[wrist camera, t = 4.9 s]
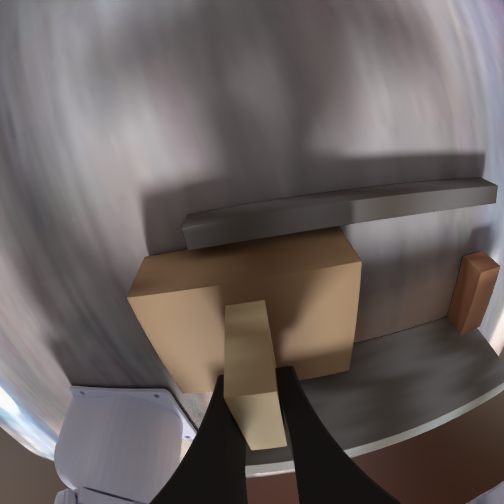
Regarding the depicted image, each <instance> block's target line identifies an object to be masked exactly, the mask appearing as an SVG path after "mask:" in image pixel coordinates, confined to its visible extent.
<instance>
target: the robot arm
mask: <svg viewBox="0 0 504 504" xmlns="http://www.w3.org/2000/svg"><path fill="white" fill-rule="evenodd" d="M275 371H276V379H277V387H278V393H279V398H280V404H281V410H282V415H283V421H284V425H285V429H286V433H287V437H288V441H289V446H290V450H291V454H292V458H293V462H294V467H295V472H296V479H297V487H298V494H299V502H300V504H400V502H399V501H398V500H397V499H395V498H394V497H393V496H391V495H390V494H389V493H387V492H386V491H385V490H384V489H382V488H381V487H380V486H379V485H378V484H376V483H375V482H374V481H373V480H372V479H371V478H370V477H368V476H367V475H366V474H365V473H364V472H363V471H362V470H361V469H360V468H359V467H358V466H357V465H356V464H355V463H354V462H353V461H352V460H351V458H350V457H349V456H348V455H347V454H346V453H345V452H344V451H343V449H342V448H341V447H340V446H339V445H338V443H337V442H336V441H335V440H334V438H333V437H332V436H331V434H330V433H329V432H328V430H327V429H326V427H325V426H324V424H323V423H322V422H321V420H320V418H319V417H318V415H317V414H316V412H315V410H314V409H313V407H312V405H311V404H310V402H309V400H308V398H307V397H306V395H305V393H304V391H303V389H302V386H301V384H300V382H299V380H298V377H297V374H296V371H295V368H294V367H293V366H285V367H279V368H275ZM69 391H70V392H71V393H72V395H73V396H74V397H73V399H72V402H71V404H70V407H69V410H68V412H67V415H66V418H65V420H64V423H63V426H62V429H61V432H60V435H59V438H58V441H57V444H56V447H55V454H54V460H55V467H56V471H57V473H58V475H59V477H60V478H61V480H62V481H63V482H64V484H65V485H67V486H68V487H69V488H71V489H72V490H73V491H71V490H69V489H65V490H64V491H60V492H58V494H57V496H56V499H55V502H54V504H248V501H247V490H246V476H245V466H246V439H245V437H244V436H243V434H242V432H241V430H240V428H239V426H238V424H237V423H236V421H235V419H234V417H233V415H232V413H231V411H230V409H229V407H228V405H227V403H226V401H225V399H224V375H219V376H218V377H217V381H216V385H215V388H214V391H213V394H212V397H211V400H210V403H209V406H208V408H207V411H206V413H205V416H204V418H203V421H202V423H201V425H200V427H199V430H198V432H197V431H196V430H195V428H194V427H193V425H192V424H191V423H190V421H189V420H188V418H187V417H186V416H185V414H184V413H183V411H182V410H181V408H180V407H179V405H178V404H177V402H176V401H175V399H174V398H173V396H172V395H171V393H170V392H169V391H168V390H166V389H122V388H98V387H83V386H70V388H69ZM182 439H194V440H193V442H192V444H191V446H190V447H189V449H188V451H187V453H186V455H185V456H184V458H183V460H182V461H181V463H180V454H181V444H182ZM467 504H504V481H503V482H502V483H500V484H499V485H498V486H496V487H494V488H493V489H491V490H489V491H487V492H485V493H483V494H482V495H480V496H479V497H477V498H475V499H474V500H472V501H470V502H469V503H467Z"/></svg>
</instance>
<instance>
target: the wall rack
mask: <svg viewBox="0 0 504 504" xmlns="http://www.w3.org/2000/svg"><path fill="white" fill-rule="evenodd" d="M497 188H498V186H497V185H495V184H493V183H491V182H489V181H487V180H485V179H483V178H465V179H450V180H436V181H424V182H413V183H402V184H392V185H382V186H373V187H364V188H356V189H347V190H339V191H331V192H324V193H317V194H309V195H302V196H295V197H289V198H282V199H276V200H269V201H263V202H257V203H251V204H245V205H239V206H233V207H227V208H222V209H216V210H211V211H205V212H200V213H195V214H190V215H187V217H186V220H185V222H184V224H183V226H182V231H183V235H184V238H185V242H186V246H187V249H188V250H193V249H199V248H205V247H211V246H217V245H223V244H229V243H235V242H241V241H247V240H253V239H259V238H265V237H271V236H278V235H284V234H290V233H296V232H302V231H309V230H315V229H321V228H328V227H334V226H341V225H347V224H354V223H360V222H367V221H373V220H380V219H387V218H394V217H400V216H407V215H414V214H421V213H428V212H435V211H442V210H449V209H456V208H463V207H471V206H478V205H485V204H493V203H496V197H497ZM499 269H500V265H498V264H497V263H496V262H495V261H494V260H493V259H491V258H490V257H489V256H488V255H487V254H485V253H484V252H483V251H480V252H477V253H473V254H469V255H465V256H463V257H462V262H461V266H460V271H459V275H458V279H457V283H456V287H455V291H454V294H453V298H452V302H451V305H450V308H449V312H448V315H447V317H445V318H442V319H439V320H436V321H433V322H430V323H427V324H424V325H421V326H418V327H414V328H411V329H408V330H404V331H401V332H397V333H394V334H390V335H387V336H383V337H379V338H375V339H372V340H368V341H364V342H360V343H355V344H353V349H352V355H351V361H350V367H349V370H348V371H344V372H339V373H335V374H330V375H326V376H321V377H316V378H311V379H305V380H300V381H299V382H300V384H301V386H302V389H303V391H304V393H305V395H306V397H307V398H308V400H309V402H310V404H311V405H312V407H313V409H314V410H315V412H316V414H317V415H318V417H319V418H320V420H321V422H322V423H323V424H324V426H325V427H326V429H327V430H328V432H329V433H330V434H331V436H332V437H333V438H334V440H335V441H336V442H337V443H338V445H339V446H340V447H341V448H342V449H343V451H344V452H345V453H346V454H347V455H348V456H349V457H353V456H357V455H360V454H364V453H367V452H371V451H374V450H377V449H380V448H383V447H386V446H389V445H392V444H395V443H398V442H401V441H403V440H406V439H409V438H411V437H414V436H416V435H419V434H421V433H423V432H426V431H428V430H430V429H433V428H435V427H437V426H439V425H442V424H444V423H446V422H448V421H450V420H452V419H454V418H456V417H458V416H460V415H462V414H464V413H466V412H468V411H469V410H471V409H473V408H475V407H477V406H478V405H480V404H482V403H484V402H485V401H487V400H489V399H490V398H492V397H494V396H495V395H497V394H498V393H500V392H501V391H503V390H504V364H503V362H502V361H501V359H500V358H499V357H498V355H497V354H496V352H495V351H494V350H493V348H492V347H491V346H490V344H489V343H488V342H487V340H486V339H485V338H484V336H483V335H482V334H481V332H480V331H479V330H478V329H477V328H478V327H480V324H481V322H482V319H483V317H484V314H485V312H486V309H487V306H488V304H489V301H490V298H491V295H492V292H493V289H494V286H495V283H496V279H497V276H498V273H499ZM285 433H286V429H285ZM286 440H287V446H284V447H277V448H269V449H260V450H251V448H250V446H249V445H248V443H247V441H246V466H245V474H254V473H265V472H274V471H282V470H290V469H295V467H294V462H293V458H292V454H291V450H290V446H289V441H288V437H287V433H286Z"/></svg>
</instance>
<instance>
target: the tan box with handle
mask: <svg viewBox="0 0 504 504" xmlns="http://www.w3.org/2000/svg"><path fill="white" fill-rule="evenodd" d="M361 267H362V261H361V259H360V258H359V256H358V254H357V253H356V251H355V250H354V248H353V247H352V245H351V244H350V242H349V241H348V239H347V238H346V236H345V235H344V233H343V232H342V230H341V229H340V228H339V226H334V227H328V228H321V229H315V230H309V231H302V232H296V233H290V234H284V235H278V236H271V237H265V238H259V239H253V240H247V241H241V242H235V243H229V244H223V245H217V246H211V247H205V248H199V249H193V250H182V251H176V252H170V253H164V254H159V255H153V256H147V257H145V258H144V260H143V262H142V265H141V267H140V269H139V271H138V273H137V276H136V278H135V280H134V282H133V285H132V287H131V289H130V292H129V294H128V296H127V299H128V301H129V303H130V305H131V307H132V309H133V311H134V313H135V315H136V317H137V318H138V320H139V322H140V324H141V326H142V328H143V329H144V331H145V333H146V335H147V337H148V338H149V340H150V342H151V344H152V345H153V347H154V349H155V350H156V352H157V354H158V355H159V357H160V359H161V360H162V362H163V364H164V365H165V367H166V368H167V370H168V372H169V373H170V375H171V376H172V378H173V379H174V381H175V383H176V384H177V386H178V387H179V389H180V390H181V392H182V393H198V392H213V391H214V388H215V385H216V381H217V377H218V376H219V375H224V399H225V401H226V403H227V405H228V407H229V409H230V411H231V413H232V415H233V417H234V419H235V421H236V423H237V424H238V426H239V428H240V430H241V432H242V434H243V436H244V437H245V439H246V441H247V443H248V445H249V446H250V448H251V450H260V449H269V448H277V447H284V446H287V440H286V433H285V425H284V421H283V415H282V410H281V404H280V398H279V393H278V387H277V379H276V371H275V368H279V367H285V366H293V367H294V368H295V371H296V374H297V377H298V380H299V381H300V380H305V379H311V378H316V377H321V376H326V375H330V374H335V373H339V372H344V371H348V370H349V367H350V361H351V355H352V349H353V342H354V335H355V327H356V319H357V311H358V301H359V291H360V280H361Z"/></svg>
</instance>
